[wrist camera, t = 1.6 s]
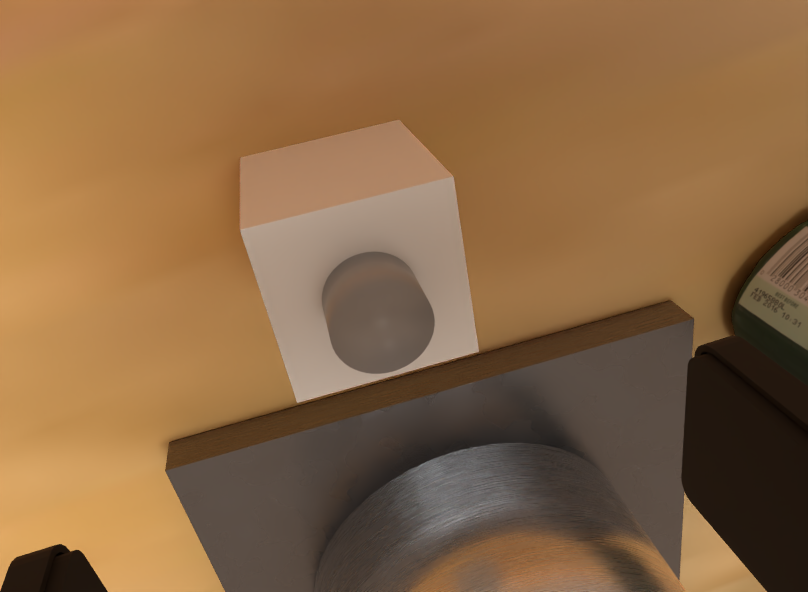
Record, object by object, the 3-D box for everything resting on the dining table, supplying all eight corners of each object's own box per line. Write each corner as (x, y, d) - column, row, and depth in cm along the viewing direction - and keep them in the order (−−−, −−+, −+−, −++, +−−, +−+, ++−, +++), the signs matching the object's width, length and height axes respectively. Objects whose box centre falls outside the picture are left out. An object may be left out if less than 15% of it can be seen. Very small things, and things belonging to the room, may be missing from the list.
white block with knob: (398, 119, 20) (475, 198, 14) (424, 260, 23) (499, 386, 16) (240, 157, 20) (239, 259, 13) (283, 297, 22) (302, 442, 15)
